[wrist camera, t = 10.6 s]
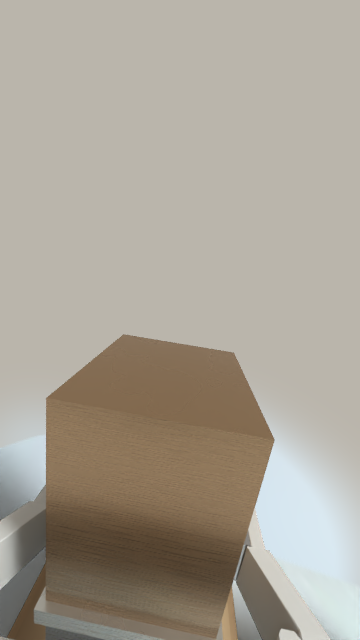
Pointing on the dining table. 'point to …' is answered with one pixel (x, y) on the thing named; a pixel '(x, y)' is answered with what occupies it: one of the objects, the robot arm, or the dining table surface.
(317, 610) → the dining table surface
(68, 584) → the block
